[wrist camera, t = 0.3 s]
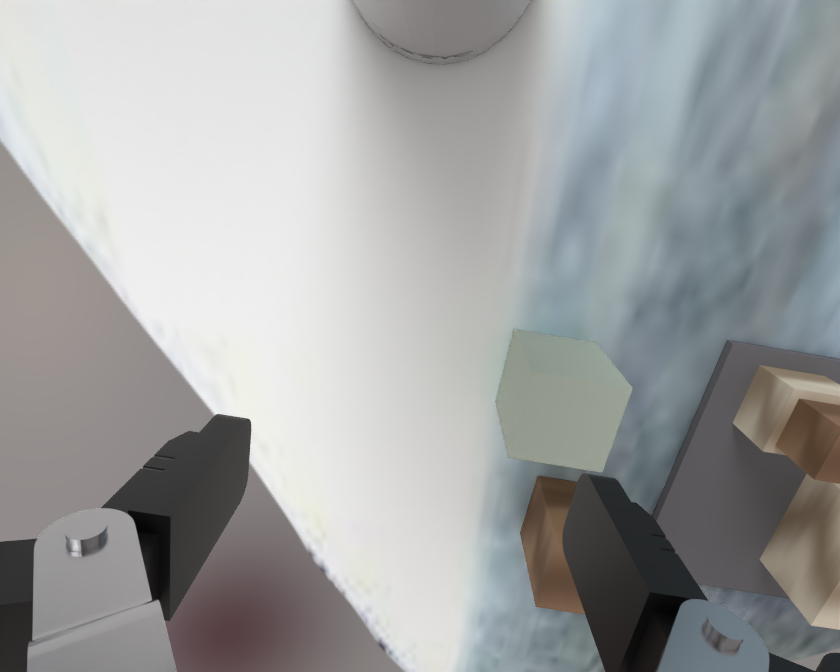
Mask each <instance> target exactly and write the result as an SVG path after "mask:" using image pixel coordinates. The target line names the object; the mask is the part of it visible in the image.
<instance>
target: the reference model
mask: <svg viewBox="0 0 840 672" xmlns="http://www.w3.org/2000/svg"><path fill="white" fill-rule="evenodd" d="M733 424H734V425H735V426H736V427H737V428H738V429H739V430H740V431H742V432H743V433H744V434H745V435H746V436H747V437H748V438H749V439H750V440H751V441H752V442H753V443H754V444H755V445H756V446H758V447H759V448H760V449H761V450H762V451H763V452H769V453H775V454H782V455H787V456H788V457H789V458H790V459H791V460H792V461H794V462H795V463H796V464H797V465H798V466H799V467H800V468H801V469H803V470H804V471H805V472H806V473H807V474H808V475H809V476H810V477H812V478H813V479H814V480H819V481H825V482H831V483H837V484H840V385H839V384H838V383H836V382H834V381H833V380H831V379H829V378H828V377H826V376H822V375H816V374H810V373H804V372H798V371H792V370H786V369H780V368H774V367H768V366H762V365H759V367H758V369H757V371H756V374H755V376H754V378H753V380H752V382H751V384H750V387H749V389H748V391H747V393H746V395H745V397H744V400H743V402H742V404H741V406H740V408H739V410H738V412H737V415H736V417H735V419H734V421H733Z"/></svg>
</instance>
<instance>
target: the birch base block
mask: <svg viewBox="0 0 840 672" xmlns="http://www.w3.org/2000/svg"><path fill="white" fill-rule="evenodd" d="M759 560H760V561H761V562H762V563H763V565H764V566H765V567H766V569H767V570H768V571H769V572H770V574H771V575H772V576H773V577H774V579H775V580H776V581H777V583H778V584H779V585H780V586H781V588H782V589H783V590H784V592H785V593H786V594H787V595H788V597H789V598H790V599H791V601H792V602H793V603H794V604H795V606H796V607H797V608H798V610H799V611H800V612H801V613H802V615H803V616H804V617H805V619H806V620H807V621H808V622H809V624H810V625H812V626H818V627H825V628H831V629H838V630H840V484H837V483H831V482H825V481H819V480H814V479H813V478H812V477H810V476H809V475H808V474H806V476H805V478H804V480H803V481H802V483H801V485H800V487H799V489H798V491H797V492H796V494H795V496H794V498H793V500H792V501H791V503H790V505H789V507H788V509H787V510H786V512H785V514H784V516H783V518H782V520H781V521H780V523H779V525H778V527H777V529H776V530H775V532H774V534H773V536H772V538H771V539H770V541H769V543H768V545H767V547H766V548H765V550H764V552H763V554H762V556H761V558H760V559H759Z"/></svg>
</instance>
